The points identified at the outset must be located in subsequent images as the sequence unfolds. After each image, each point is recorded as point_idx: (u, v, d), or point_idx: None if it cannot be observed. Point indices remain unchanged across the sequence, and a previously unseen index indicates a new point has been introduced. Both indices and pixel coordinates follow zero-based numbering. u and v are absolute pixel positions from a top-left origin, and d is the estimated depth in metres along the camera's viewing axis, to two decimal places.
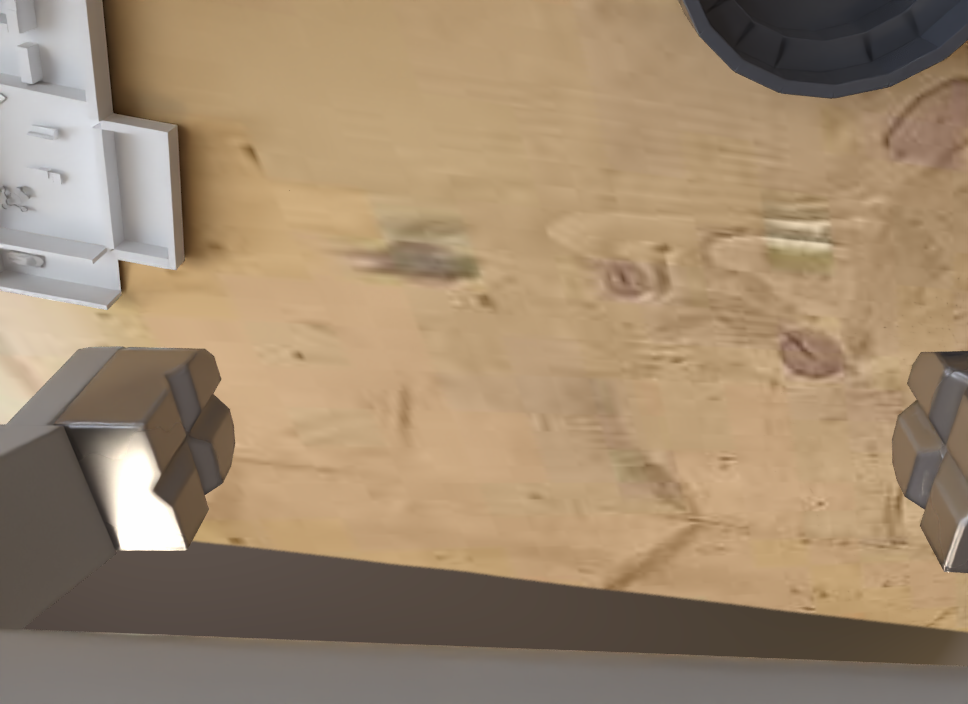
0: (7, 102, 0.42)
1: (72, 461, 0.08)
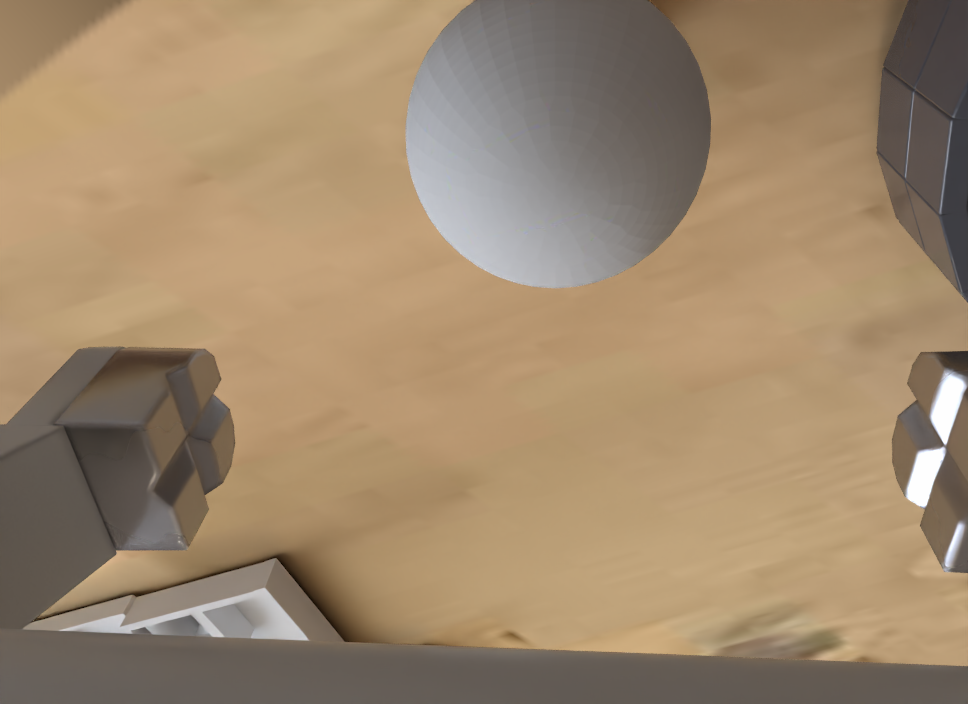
0: None
1: (71, 461, 0.08)
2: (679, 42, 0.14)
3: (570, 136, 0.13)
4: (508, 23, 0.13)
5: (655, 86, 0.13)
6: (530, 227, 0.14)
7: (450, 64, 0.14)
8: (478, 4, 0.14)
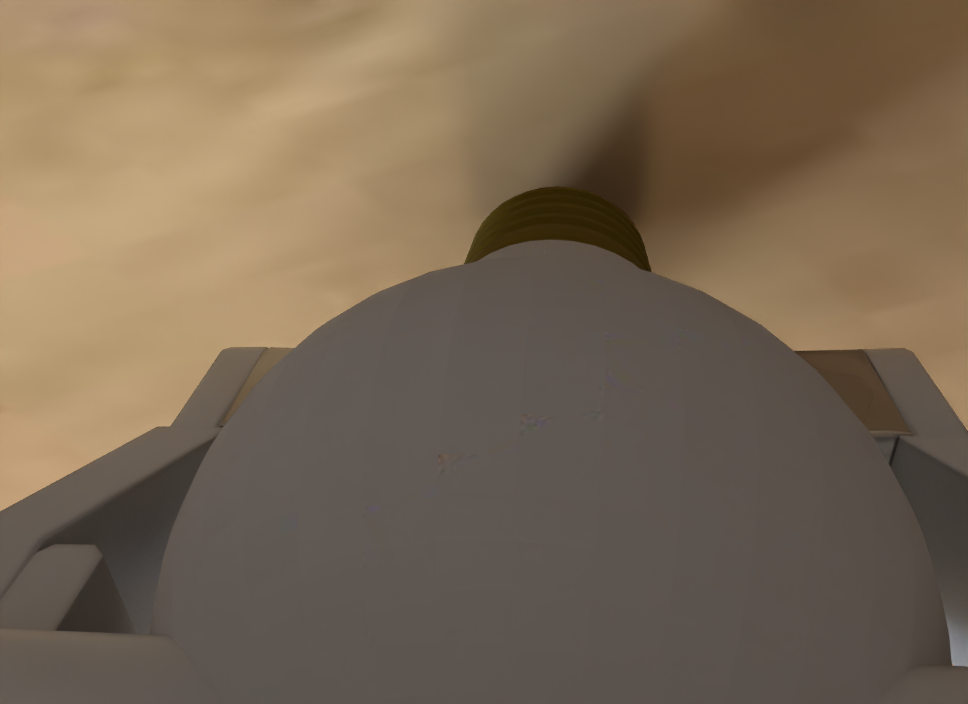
0: None
1: None
2: (892, 522, 0.05)
3: None
4: (363, 526, 0.04)
5: None
6: None
7: (204, 600, 0.05)
8: (309, 390, 0.05)
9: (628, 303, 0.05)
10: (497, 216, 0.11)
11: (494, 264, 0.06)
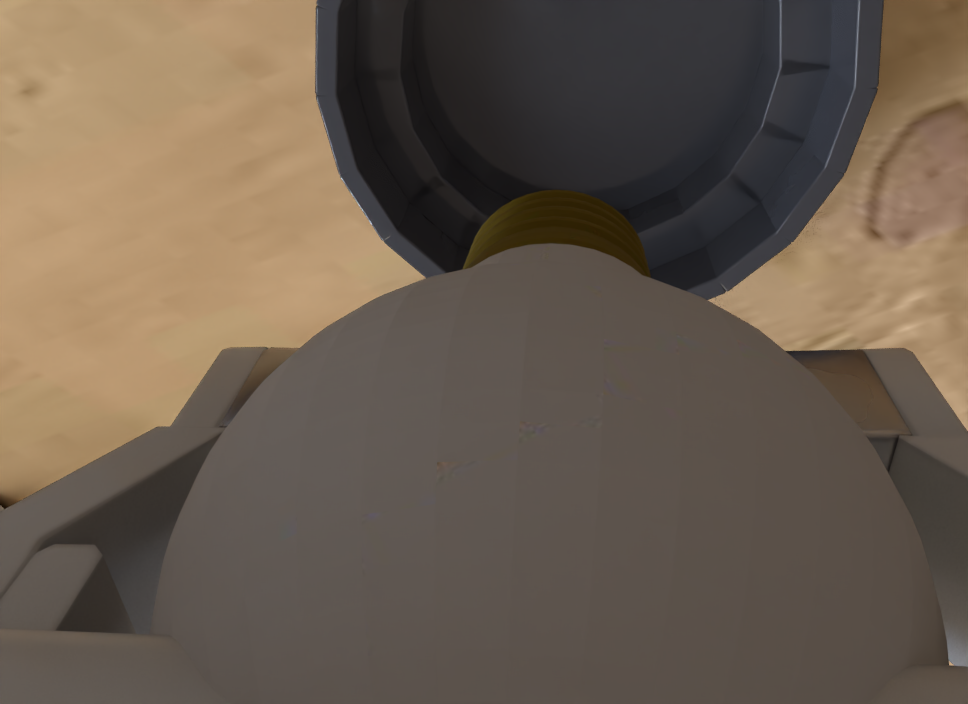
0: None
1: None
2: (889, 528, 0.05)
3: None
4: (364, 535, 0.04)
5: None
6: None
7: (205, 606, 0.05)
8: (308, 396, 0.05)
9: (626, 309, 0.05)
10: (497, 220, 0.11)
11: (493, 270, 0.06)
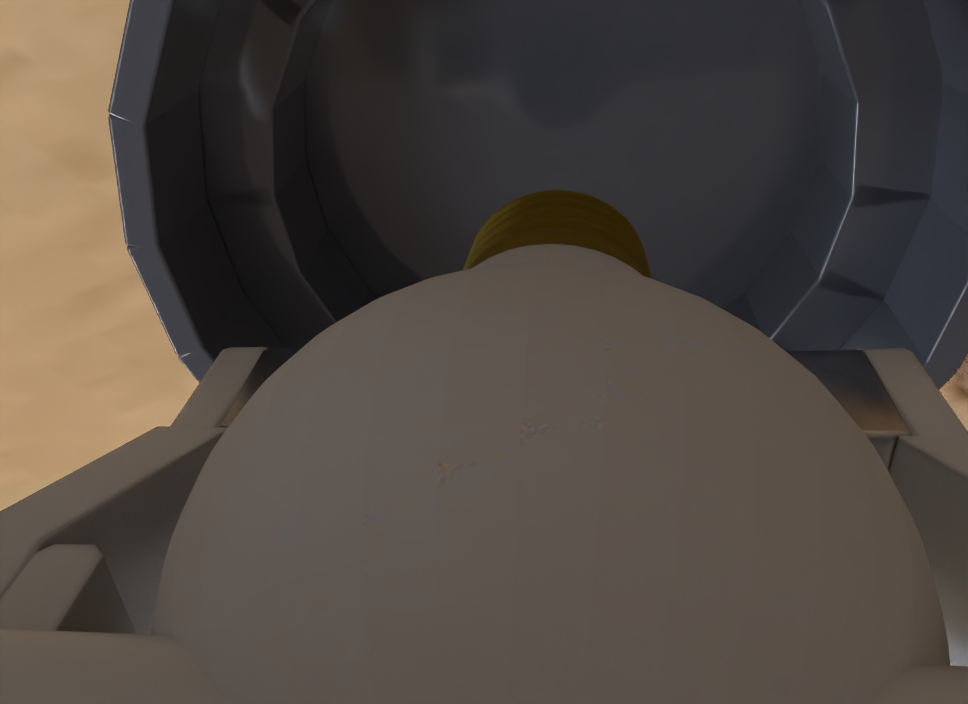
0: None
1: None
2: (890, 529, 0.05)
3: None
4: (365, 536, 0.04)
5: None
6: None
7: (206, 608, 0.05)
8: (310, 397, 0.05)
9: (627, 310, 0.05)
10: (497, 220, 0.11)
11: (494, 270, 0.06)
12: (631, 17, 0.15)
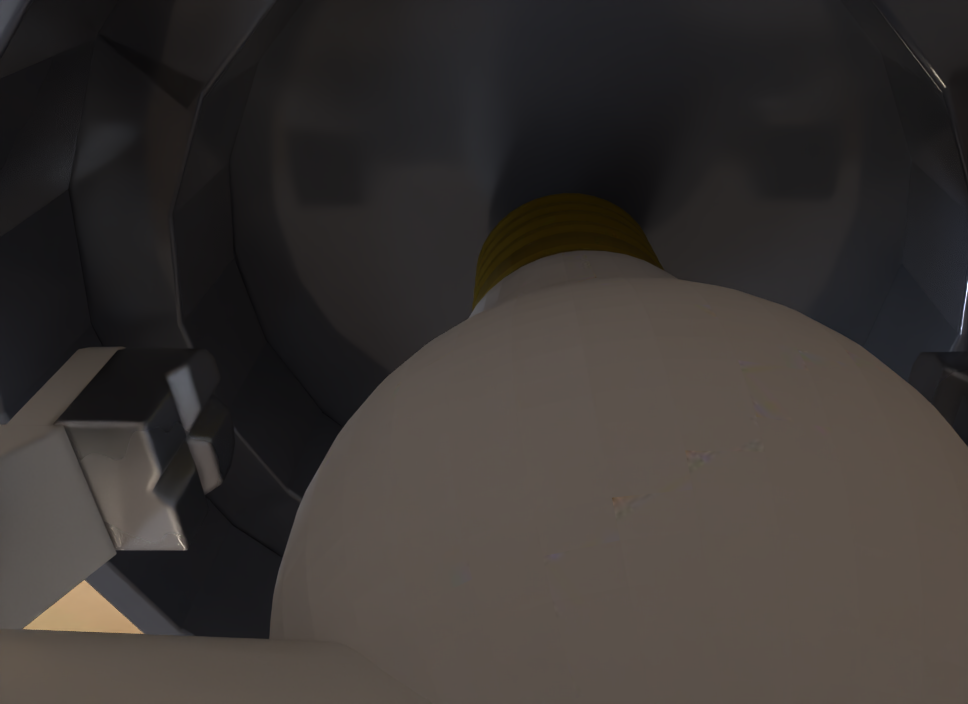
0: None
1: (72, 461, 0.08)
2: None
3: None
4: (549, 577, 0.04)
5: None
6: None
7: (368, 658, 0.05)
8: (444, 435, 0.05)
9: (744, 327, 0.05)
10: (508, 225, 0.11)
11: (590, 292, 0.06)
12: (658, 86, 0.11)
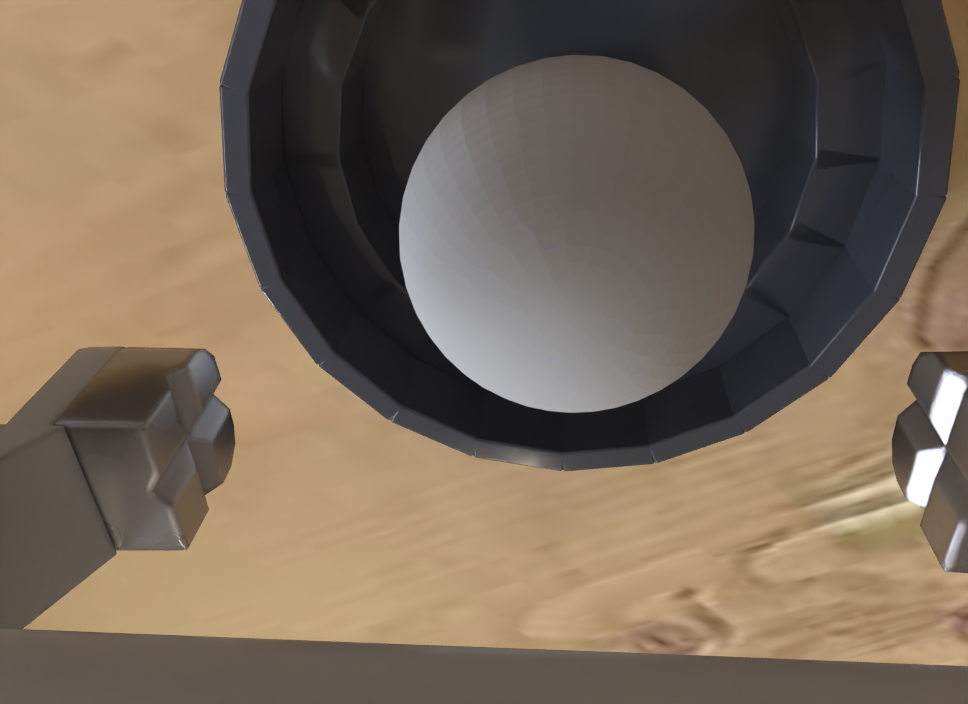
0: None
1: (72, 460, 0.08)
2: (719, 139, 0.12)
3: (591, 258, 0.11)
4: (517, 120, 0.11)
5: (693, 196, 0.11)
6: (542, 358, 0.12)
7: (449, 164, 0.12)
8: (483, 93, 0.12)
9: (614, 60, 0.12)
10: None
11: None
12: (635, 13, 0.18)
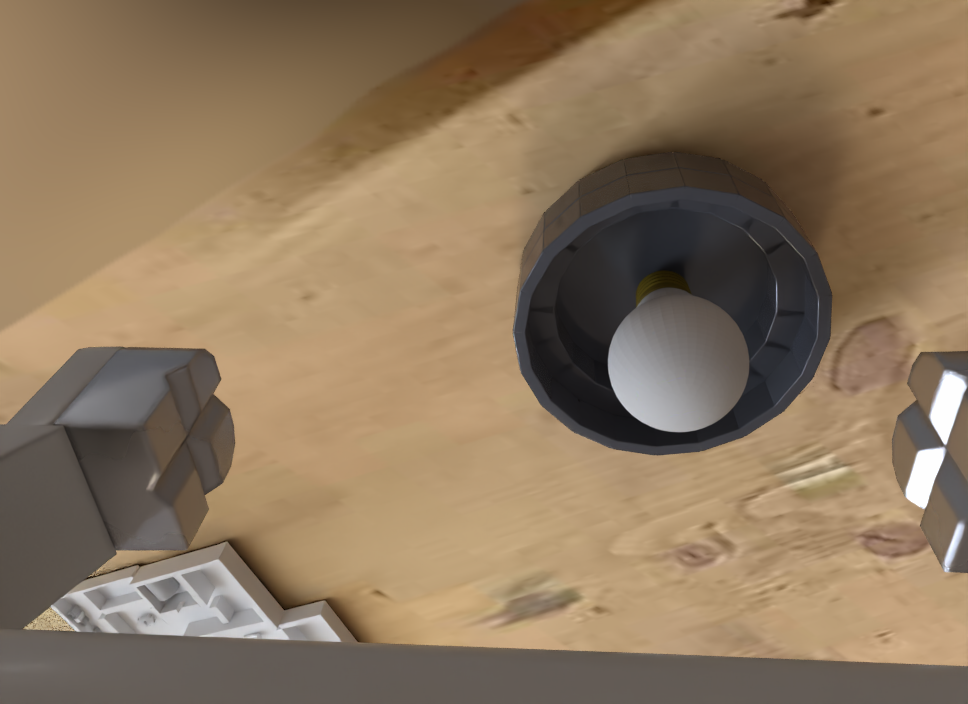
0: None
1: (72, 461, 0.08)
2: (736, 334, 0.33)
3: (694, 382, 0.32)
4: (666, 331, 0.32)
5: (728, 359, 0.32)
6: (673, 414, 0.32)
7: (639, 345, 0.32)
8: (649, 316, 0.33)
9: (697, 302, 0.33)
10: (648, 279, 0.39)
11: (672, 296, 0.34)
12: (693, 241, 0.39)
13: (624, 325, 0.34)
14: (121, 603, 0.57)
